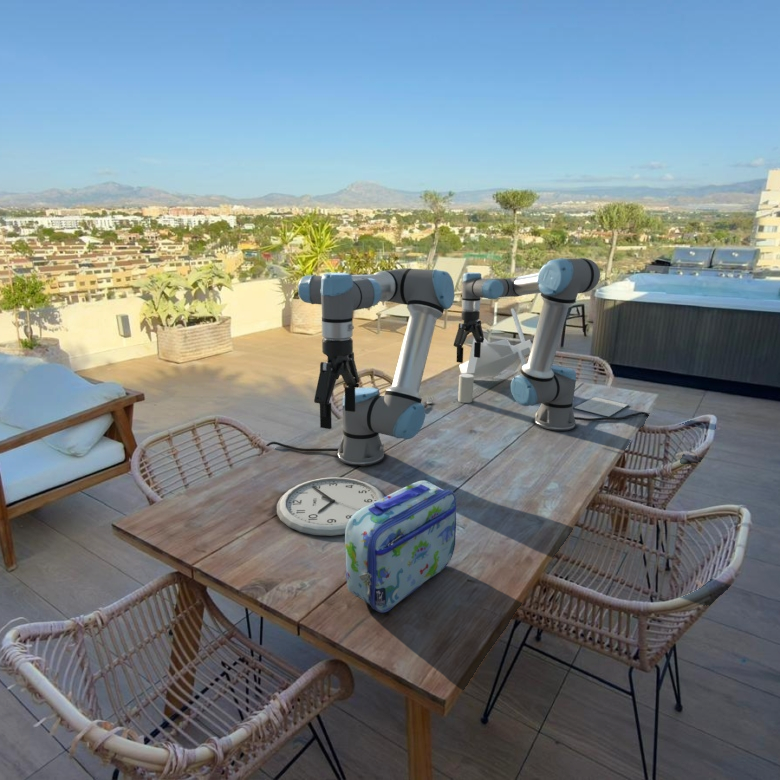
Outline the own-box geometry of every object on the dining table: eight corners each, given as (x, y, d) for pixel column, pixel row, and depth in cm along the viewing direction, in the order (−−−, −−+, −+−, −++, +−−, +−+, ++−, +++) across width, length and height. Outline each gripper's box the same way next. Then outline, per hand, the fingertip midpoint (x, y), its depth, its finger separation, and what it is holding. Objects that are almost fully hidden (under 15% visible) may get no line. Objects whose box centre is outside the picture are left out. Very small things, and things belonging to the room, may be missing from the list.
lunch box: (374, 626, 100) (375, 530, 93) (338, 598, 107) (337, 508, 101) (459, 568, 117) (465, 484, 111) (424, 547, 124) (427, 467, 118)
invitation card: (608, 416, 214) (573, 407, 224) (608, 416, 214) (573, 408, 224) (628, 404, 229) (594, 396, 238) (628, 405, 229) (594, 397, 238)
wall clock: (392, 527, 129) (268, 531, 127) (391, 533, 130) (269, 537, 127) (383, 473, 158) (282, 475, 155) (383, 478, 158) (282, 480, 156)
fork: (417, 411, 216) (418, 406, 216) (428, 400, 231) (428, 395, 230) (423, 412, 215) (424, 407, 215) (434, 400, 230) (434, 396, 229)
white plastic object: (480, 421, 262) (459, 398, 238) (462, 347, 285) (440, 320, 260) (552, 397, 250) (537, 370, 226) (527, 322, 272) (511, 290, 248)
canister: (463, 397, 235) (464, 372, 232) (474, 400, 231) (476, 375, 228) (455, 400, 231) (456, 375, 228) (466, 403, 227) (468, 378, 224)
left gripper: (326, 349, 116) (328, 438, 122) (371, 330, 138) (371, 406, 144) (297, 346, 118) (300, 433, 125) (346, 328, 140) (346, 402, 147)
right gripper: (478, 306, 231) (476, 354, 237) (446, 312, 213) (444, 363, 218) (493, 308, 226) (491, 356, 232) (461, 314, 208) (459, 366, 214)
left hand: (338, 419), depth 134 cm, fingers open, 13 cm apart
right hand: (468, 359), depth 225 cm, fingers open, 13 cm apart
